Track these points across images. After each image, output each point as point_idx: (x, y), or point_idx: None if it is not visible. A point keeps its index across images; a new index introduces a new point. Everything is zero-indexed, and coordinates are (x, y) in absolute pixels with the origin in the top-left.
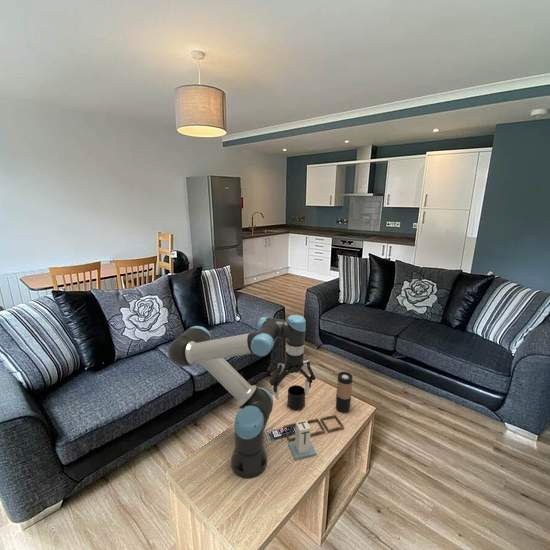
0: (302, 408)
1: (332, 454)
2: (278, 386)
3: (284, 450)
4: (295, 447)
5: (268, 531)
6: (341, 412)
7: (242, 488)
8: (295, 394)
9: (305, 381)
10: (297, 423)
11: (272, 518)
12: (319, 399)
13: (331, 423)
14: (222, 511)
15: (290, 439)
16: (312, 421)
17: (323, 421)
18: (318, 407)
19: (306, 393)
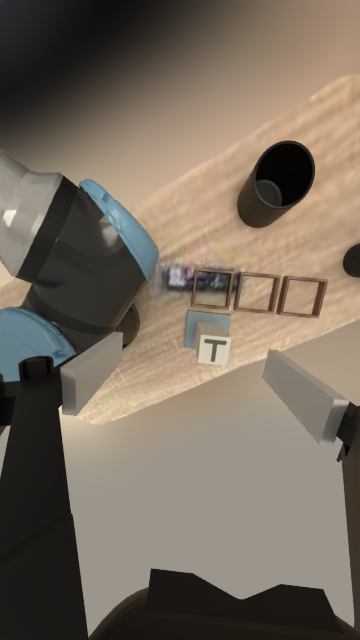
0: (267, 225)
1: (251, 358)
2: (71, 412)
3: (175, 320)
4: (195, 326)
5: (111, 418)
6: (347, 272)
7: None
8: (277, 170)
9: (316, 390)
10: (203, 340)
11: (120, 408)
12: (330, 205)
13: (300, 293)
14: None
15: (195, 306)
16: (264, 276)
17: (286, 288)
18: (307, 234)
19: (268, 379)
